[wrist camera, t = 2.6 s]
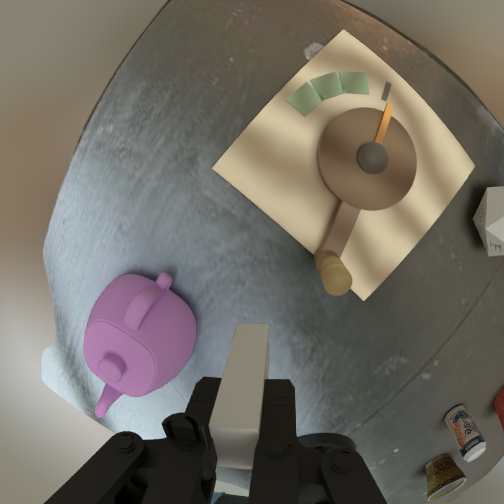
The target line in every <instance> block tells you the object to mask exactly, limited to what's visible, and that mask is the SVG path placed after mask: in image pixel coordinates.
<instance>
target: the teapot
mask: <svg viewBox="0 0 504 504" xmlns="http://www.w3.org/2000/svg"><path fill="white" fill-rule="evenodd" d="M171 284H172V277H171V276H170V275H169V274H168V273H165V272H161V273H160V275H159V277H158V279H157V280H156V282H155V281H153V280H150V279H148V278H146V277H143V276H140V275H137V274H125V275H121V276H119V277H118V278H116V279H115V280H113V281H112V282H111V283H110V284H109V285H108V286H107V287H106V288H105V290H104V291H103V292H102V293H101V295H100V296H99V297H98V299H97V301H96V302H95V304H94V306H93V308H92V311H91V313H90V316H89V319H88V323H87V326H86V331H85V336H84V356H85V360H86V362H87V365H88V367H89V368H90V370H91V371H92V372H93V373H94V374H95V375H96V376H97V377H99V378H100V379H101V380H103V381H104V382H105V383H106V384H105V387H104V390H103V393H102V395H101V397H100V400H99V402H98V404H97V406H96V409H95V414H96V416H97V417H98V418H102V417H103V416H104V415H105V414H106V412H107V410H108V409H109V407H110V406H111V405H112V404H113V403H114V402H115V401H116V400H117V399H118V398H119V397H120V396H121V395H123V394H126V395H129V396H132V397H140V396H143V395H146V394H148V393H150V392H152V391H155V390H157V389H159V388H160V387H162V386H164V385H165V384H166V383H168V382H169V381H170V380H172V379H173V378H174V377H175V376H176V375H177V374H178V373H179V372H180V371H181V370H182V369H183V367H184V366H185V365H186V363H187V362H188V360H189V358H190V356H191V354H192V352H193V350H194V347H195V342H196V333H197V328H196V320H195V317H194V314H193V312H192V311H191V309H190V307H189V306H188V305H187V304H186V303H185V301H183V300H182V299H181V298H180V297H179V296H177V295H176V294H175V293H173V292H172V291H170V290H169V288H170V286H171Z"/></svg>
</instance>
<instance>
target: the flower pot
mask: <svg viewBox="0 0 504 504" xmlns="http://www.w3.org/2000/svg"><path fill="white" fill-rule="evenodd" d="M494 406H495V409H496V411H497V414H498V417H499V420H500V422H501V425H502V428H503V431H504V387H503V388H502V389H501V390H500V391H499V393H498V394H497V396H496V398H495V400H494Z"/></svg>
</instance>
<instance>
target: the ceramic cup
mask: <svg viewBox="0 0 504 504" xmlns="http://www.w3.org/2000/svg"><path fill="white" fill-rule="evenodd" d="M425 469H426V477H427V497H428V501H433V500H437V499H440V498H442V497H444V496H446V495H448V494H450V493H452V492H453V491H455V490H456V489H458V488H459V487H460V486H461V485H463V484H464V483H465V482H466V480H467V478H466V476H465V475H464V473H463V472H462V471H461V469H460V468H459V467H458V466H457V465H456V463H455V462H454V461H453V459H452V458H451V457H450V455H449V454H443V455H440V456H438V457H436V458H434V459H432V460H431V461H430V462H429V463H428V464H426V465H425Z"/></svg>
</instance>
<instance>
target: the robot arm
mask: <svg viewBox="0 0 504 504" xmlns="http://www.w3.org/2000/svg"><path fill="white" fill-rule="evenodd" d="M268 369H269V345H268V324H244V323H238V324H237V327H236V331H235V334H234V338H233V342H232V345H231V349H230V352H229V356H228V359H227V363H226V366H225V370H224V373H223V377H222V378H215V377H203V378H202V379H201V380H200V381H199V382H197V383H196V385H195V388H194V390H193V394H192V395H191V398H190V402H189V403H188V406H187V408H186V411H185V413H176V414H172V415H170V416H169V417H167V418H165V420H164V421H163V422H162V426H163V429H164V431H165V434H166V436H167V437H166V438H163V439H153V440H142V438H141V437H140V436H139V435H138V434H136V433H134V432H130V431H123V432H120V433H116V434H115V435H114V436H112V437H111V438H110V439H109V440H108V441H107V442H106V443H105V444H104V445H103V446H102V447H101V448H100V449H99V450H98V451H97V452H96V453H95V454H94V455H93V456H92V457H91V458H90V459H89V460H88V461H87V462H86V463H85V464H84V465H83V466H82V467H81V468H80V469H79V470H78V471H77V472H76V473H75V474H74V475H73V476H72V477H71V478H70V479H69V480H68V481H67V482H66V483H65V484H64V485H63V486H62V487H61V488H60V489H59V490H58V491H56V492H55V493H54V494H53V495H52V496H51V497H50V498H49V499H48V500H47V501H46V502H45V503H44V504H387V502H386V500H385V498H384V497H383V495H382V493H381V491H380V489H379V488H378V486H377V484H376V482H375V480H374V478H373V477H372V475H371V473H370V471H369V469H368V467H367V466H366V464H365V462H364V460H363V458H362V457H361V456H360V454H359V453H358V452H357V451H356V446H355V444H354V442H353V441H352V440H351V439H349V438H347V437H345V436H341V435H336V434H314V435H308V436H303V437H299V438H297V435H296V409H295V387H294V386H293V384H292V383H291V381H290V380H289V379H268ZM217 462H218V466H219V467H225V468H236V469H249V470H252V476H251V484H250V491H249V497H246V496H238V495H230V494H225V492H221V493H218V492H214V487H215V483H216V472H215V469H216V465H217Z"/></svg>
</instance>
